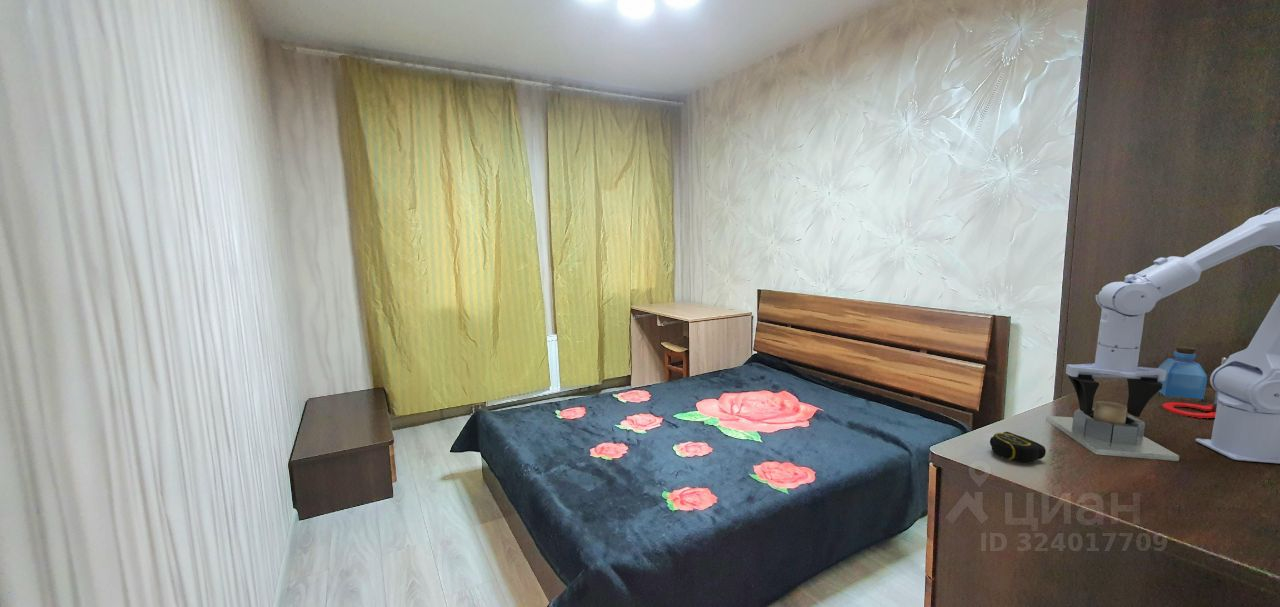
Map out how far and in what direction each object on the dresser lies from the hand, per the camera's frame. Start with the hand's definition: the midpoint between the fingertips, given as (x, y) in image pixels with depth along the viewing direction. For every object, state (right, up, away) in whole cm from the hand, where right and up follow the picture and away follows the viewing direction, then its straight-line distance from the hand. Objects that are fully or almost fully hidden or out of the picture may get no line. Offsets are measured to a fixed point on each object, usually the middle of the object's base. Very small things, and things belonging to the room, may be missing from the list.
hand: (1108, 413), depth 91 cm
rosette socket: (0, -5, +1) cm, 5 cm away
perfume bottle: (+39, -1, +22) cm, 45 cm away
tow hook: (+31, -3, +12) cm, 33 cm away
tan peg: (0, -4, 0) cm, 4 cm away
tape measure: (-23, -7, -5) cm, 24 cm away
